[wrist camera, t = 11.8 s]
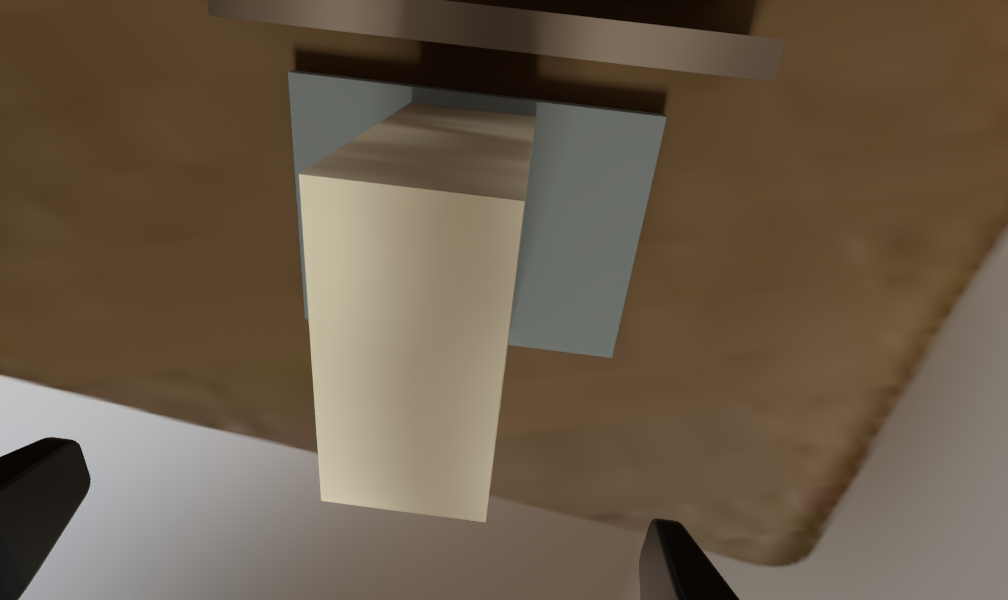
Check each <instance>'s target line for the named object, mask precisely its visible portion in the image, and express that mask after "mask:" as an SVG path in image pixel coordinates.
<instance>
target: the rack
mask: <svg viewBox="0 0 1008 600" xmlns="http://www.w3.org/2000/svg"><path fill="white" fill-rule="evenodd" d="M207 3H208V11H209V16H215V17H224V18H233V19H241V20H250V21H258V22H267V23H275V24H284V25H292V26H301V27H309V28H318V29H326V30H335V31H343V32H352V33H361V34H369V35H378V36H386V37H395V38H403V39H412V40H420V41H429V42H437V43H446V44H454V45H463V46H471V47H480V48H489V49H497V50H506V51H514V52H523V53H531V54H540V55H548V56H557V57H565V58H574V59H582V60H591V61H599V62H608V63H617V64H625V65H634V66H642V67H651V68H659V69H668V70H676V71H685V72H693V73H702V74H710V75H719V76H728V77H736V78H745V79H753V80H762V81H770V82H774V80H775V76H776V73H777V70H778V66H779V63H780V60H781V57H782V53H783V50H784V47H785V43H786V40H783V39H774V38H765V37H757V36H748V35H739V34H731V33H722V32H713V31H705V30H696V29H688V28H679V27H670V26H662V25H653V24H644V23H636V22H627V21H618V20H610V19H601V18H593V17H584V16H575V15H567V14H558V13H549V12H541V11H532V10H523V9H515V8H506V7H498V6H489V5H480V4H472V3H463V2H454V1H446V0H207Z"/></svg>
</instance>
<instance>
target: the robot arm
mask: <svg viewBox="0 0 1008 600" xmlns="http://www.w3.org/2000/svg"><path fill="white" fill-rule="evenodd" d="M89 487H90V475H89V472H88V469H87V466H86V462H85V459H84V456H83V453H82V450H81V447H80V445H79V444H78V443H77V442H76V441H74V440H69V439H62V438H54V437H50V438H44V439H41V440H39V441H37V442H35V443H32V444H30V445H27V446H25V447H23V448H20V449H18V450H16V451H13V452H11V453H9V454H6V455H4V456H2V457H0V600H18V599H19V598H20V597H21V595H22V594H23V592H24V591H25V590H26V588H27V587H28V585H29V584H30V582H31V581H32V579H33V578H34V576H35V575H36V573H37V572H38V570H39V569H40V567H41V566H42V564H43V562H44V561H45V559H46V558H47V556H48V555H49V553H50V551H51V550H52V548H53V547H54V545H55V544H56V542H57V540H58V539H59V537H60V536H61V534H62V532H63V531H64V529H65V528H66V526H67V525H68V523H69V521H70V520H71V518H72V517H73V515H74V513H75V512H76V510H77V509H78V507H79V505H80V504H81V502H82V501H83V499H84V498H85V496H86V494H87V492H88V490H89ZM639 578H640V593H641V594H640V595H641V600H739V599H738V597H737V596H736V594H735V593H734V592H733V591H732V589H731V588H730V587H729V585H728V584H727V583H726V581H725V580H724V579H723V577H722V576H721V575H720V573H719V572H718V571H717V570H716V568H715V567H714V566H713V564H712V563H711V562H710V560H709V559H708V558H707V557H706V555H705V554H704V552H703V551H702V550H701V549H700V547H699V546H698V545H697V543H696V542H695V541H694V539H693V538H692V537H691V535H690V534H689V533H688V531H687V530H686V529H685V528H684V526H683V525H682V524H681V523H679V522H678V521H673V520H665V519H658V518H656V519H653V520H652V521H651V523H650V525H649V528H648V531H647V534H646V537H645V541H644V544H643V547H642V550H641V554H640V560H639Z"/></svg>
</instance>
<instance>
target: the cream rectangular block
mask: <svg viewBox="0 0 1008 600" xmlns="http://www.w3.org/2000/svg"><path fill="white" fill-rule="evenodd" d="M535 121H536V117H535V116H526V115H517V114H509V113H500V112H492V111H483V110H475V109H466V108H458V107H449V106H441V105H432V104H424V103H415V102H411V103H409V104H407V105H406V106H404V107H403V108H401V109H400V110H398V111H396V112H395V113H393V114H392V115H390V116H389V117H387V118H386V119H384V120H382V121H381V122H379V123H378V124H376V125H375V126H373V127H371V128H370V129H368V130H367V131H365V132H364V133H362V134H361V135H359V136H357V137H356V138H354V139H353V140H351V141H350V142H348V143H347V144H345V145H343V146H342V147H340V148H339V149H337V150H336V151H334V152H332V153H331V154H329V155H328V156H326V157H325V158H323V159H322V160H320V161H318V162H317V163H315V164H314V165H312V166H311V167H309V168H308V169H306V170H304V171H303V172H301V173H300V174H299V185H300V199H301V214H302V228H303V243H304V258H305V272H306V287H307V301H308V316H309V330H310V345H311V359H312V374H313V388H314V403H315V418H316V432H317V447H318V461H319V476H320V490H321V500H322V501H327V502H335V503H342V504H350V505H359V506H365V507H373V508H381V509H388V510H397V511H404V512H412V513H419V514H426V515H434V516H442V517H449V518H457V519H464V520H473V521H480V522H486V515H487V506H488V499H489V491H490V483H491V475H492V467H493V459H494V452H495V444H496V436H497V428H498V420H499V412H500V404H501V396H502V388H503V381H504V373H505V365H506V357H507V349H508V341H509V333H510V325H511V317H512V309H513V301H514V292H515V284H516V276H517V268H518V260H519V252H520V244H521V235H522V227H523V219H524V211H525V203H526V195H527V186H528V178H529V170H530V162H531V154H532V146H533V137H534V129H535Z"/></svg>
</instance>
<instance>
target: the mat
mask: <svg viewBox="0 0 1008 600" xmlns="http://www.w3.org/2000/svg"><path fill="white" fill-rule="evenodd" d="M288 81H289V95H290V110H291V124H292V138H293V152H294V167H295V181H296V195H297V210H298V224H299V238H300V252H301V267H302V281H303V295H304V310H305V319H309V316H308V301H307V287H306V272H305V258H304V243H303V228H302V214H301V199H300V185H299V174H300V173H301V172H303V171H304V170H306V169H308V168H309V167H311V166H312V165H314V164H315V163H317V162H318V161H320V160H322V159H323V158H325V157H326V156H328V155H329V154H331V153H332V152H334V151H336V150H337V149H339V148H340V147H342V146H343V145H345V144H347V143H348V142H350V141H351V140H353V139H354V138H356V137H357V136H359V135H361V134H362V133H364V132H365V131H367V130H368V129H370V128H371V127H373V126H375V125H376V124H378V123H379V122H381V121H382V120H384V119H386V118H387V117H389V116H390V115H392V114H393V113H395V112H396V111H398V110H400V109H401V108H403V107H404V106H406V105H407V104H409V103H411V102H415V103H424V104H432V105H441V106H449V107H458V108H466V109H475V110H483V111H492V112H500V113H509V114H517V115H526V116H535V117H536V121H535V129H534V137H533V146H532V154H531V162H530V170H529V178H528V186H527V195H526V203H525V211H524V219H523V227H522V235H521V244H520V252H519V260H518V268H517V276H516V284H515V292H514V301H513V309H512V317H511V325H510V333H509V341H508V345H514V346H522V347H530V348H538V349H546V350H554V351H561V352H569V353H577V354H585V355H593V356H601V357H609V358H612V355H613V351H614V346H615V342H616V338H617V333H618V329H619V324H620V320H621V316H622V311H623V307H624V303H625V298H626V294H627V289H628V285H629V281H630V276H631V272H632V268H633V263H634V259H635V254H636V250H637V246H638V241H639V237H640V232H641V228H642V224H643V219H644V215H645V211H646V206H647V202H648V197H649V193H650V189H651V184H652V180H653V175H654V171H655V167H656V162H657V158H658V154H659V149H660V145H661V140H662V136H663V132H664V127H665V123H666V119H667V117H666V116H665V115H664V114H660V113H651V112H643V111H634V110H626V109H617V108H609V107H601V106H592V105H584V104H575V103H567V102H558V101H550V100H542V99H533V98H525V97H516V96H508V95H499V94H491V93H482V92H474V91H466V90H457V89H449V88H440V87H432V86H423V85H415V84H407V83H398V82H390V81H381V80H373V79H364V78H356V77H348V76H339V75H331V74H322V73H314V72H305V71H297V70H295V71H290V72H288Z"/></svg>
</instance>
